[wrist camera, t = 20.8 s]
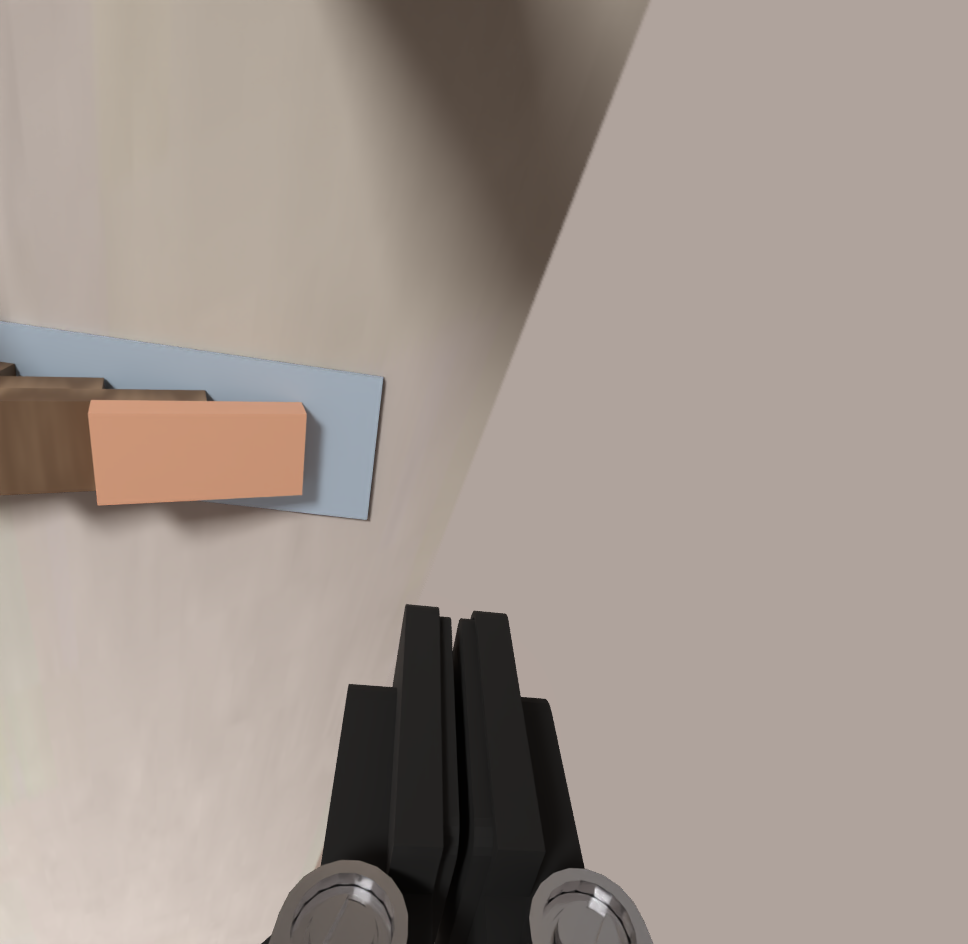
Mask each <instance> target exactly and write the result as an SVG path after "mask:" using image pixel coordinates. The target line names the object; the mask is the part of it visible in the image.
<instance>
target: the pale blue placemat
mask: <svg viewBox="0 0 968 944" xmlns="http://www.w3.org/2000/svg"><path fill="white" fill-rule="evenodd" d="M0 362H6V363H13V364H15V371H16V376H35V377H93V378H104V384H105V389H150V390H205V393H206V399H207V401H243V402H302V405H303V407H304V409H305V411H306V414H307V419H306V436H305V453H304V471H303V488H302V495H293V496H274V497H254V498H235V499H215V500H196V501H204V502H213V503H222V504H231V505H239V506H248V507H257V508H266V509H275V510H284V511H293V512H302V513H311V514H319V515H328V516H337V517H346V518H355V519H364V520H367V517H368V508H369V500H370V491H371V482H372V473H373V464H374V456H375V447H376V438H377V429H378V420H379V411H380V403H381V394H382V385H383V377H381V376H374V375H367V374H360V373H353V372H346V371H340V370H333V369H326V368H319V367H312V366H305V365H298V364H291V363H285V362H278V361H271V360H264V359H257V358H250V357H243V356H236V355H230V354H223V353H216V352H209V351H202V350H195V349H188V348H181V347H175V346H168V345H161V344H154V343H147V342H140V341H133V340H126V339H120V338H113V337H106V336H99V335H92V334H85V333H78V332H71V331H65V330H58V329H51V328H44V327H37V326H30V325H23V324H16V323H10V322H3V321H0Z"/></svg>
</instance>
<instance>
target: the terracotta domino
mask: <svg viewBox="0 0 968 944" xmlns="http://www.w3.org/2000/svg"><path fill="white" fill-rule="evenodd" d="M88 419H89V429H90V438H91V448H92V457H93V467H94V476H95V485H96V495H97V504H98V505H118V504H137V503H157V502H176V501H196V500H215V499H235V498H254V497H274V496H293V495H302V488H303V471H304V453H305V436H306V419H307V414H306V411H305V409H304V407H303V405H302V402H243V401H148V400H91V402H90V406H89V411H88Z"/></svg>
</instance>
